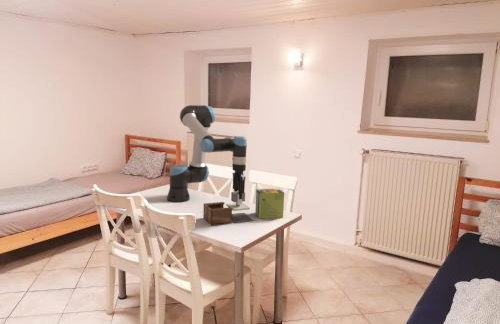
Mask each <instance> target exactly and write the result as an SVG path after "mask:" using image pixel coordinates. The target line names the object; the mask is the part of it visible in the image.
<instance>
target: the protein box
mask: <svg viewBox="0 0 500 324" xmlns="http://www.w3.org/2000/svg"><path fill="white" fill-rule="evenodd" d="M255 194H256V195H255V211H254V212H255V215H256V216H257V218H258V219H283V218H284V205H285V192H284V191H283V190H282V189H281V188H256V189H255Z"/></svg>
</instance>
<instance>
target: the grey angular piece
mask: <svg viewBox="0 0 500 324" xmlns="http://www.w3.org/2000/svg"><path fill="white" fill-rule="evenodd" d="M237 193H238V192H234V191H231V193H230V195H231V197H230V201H231V203H226V207H227V208H229V207H231V208H232V212H237V211H247V210H250V207H249V206H248V205H246V204H245V203H244V202H245V201H246V192H245V191H244V193H242V204H239V205H237V195H238V194H237Z"/></svg>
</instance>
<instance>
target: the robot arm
mask: <svg viewBox="0 0 500 324" xmlns="http://www.w3.org/2000/svg"><path fill="white" fill-rule="evenodd" d="M179 119H180V122H181V123H182V124H183V126H184V127H187V128H188V129H189V130H190V132H191V133H192V134H193V135H194V136H193V147H192V157H191V161H190V162H189V165H187V164H177V165H176V164H175V165H173V166H171V167H170V168H169V190H168V192H167V197H166V199H167V201H168V202H172V203H184V202H187V201H190V198H191V197H190V196H191V195H190V192H189V190H188V185H189V184H195V183H203V182H206V181H207V180H208V178H209V174H210V171H209V167H208V165H207V163H206V162H205V159H206V153H223V152H231V153H232V171H234V172H232V190H233V192H238V193H237V194H238V195H237V205H239V204H242V203H243V201H242V193H244V192H245V186H246V185H245V184H246V176H245V175H244V172H245V171H246V167H247V166H246V163H247V146H248V143H247V137H246V136H241V135H238V136H237V135H236V136H233V138H231V137H224V138H214V137H213V135H212V134H211V133H210V132H209V131H208V130H209V129H210V128H211V126H212V125H211V124H213V123H214V122H215V120H216V115H215V110H214V109H213V107H212V106H210V105H198V104H197V105H196V104H195V105H193V104H191V105H186V106H184V107H182V110H181V111H180V112H179Z"/></svg>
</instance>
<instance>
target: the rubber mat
mask: <svg viewBox="0 0 500 324" xmlns="http://www.w3.org/2000/svg"><path fill="white" fill-rule="evenodd" d="M254 221H255V219H254V218H252V217H251V216H249V215H248V214H247V213H245V212H237V213H232V223H235V224H240V223H248V222H254Z"/></svg>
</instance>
